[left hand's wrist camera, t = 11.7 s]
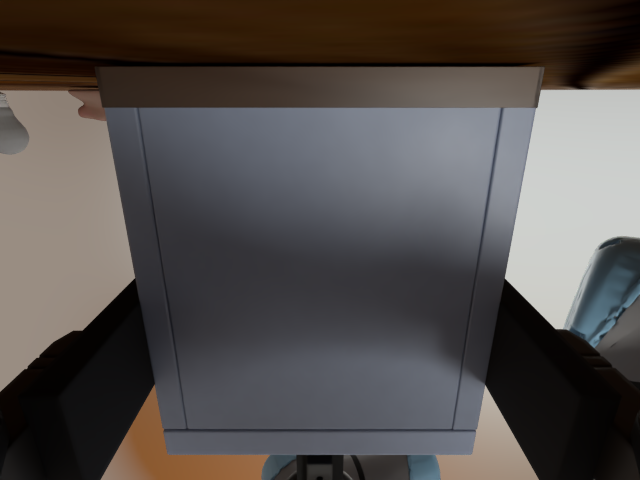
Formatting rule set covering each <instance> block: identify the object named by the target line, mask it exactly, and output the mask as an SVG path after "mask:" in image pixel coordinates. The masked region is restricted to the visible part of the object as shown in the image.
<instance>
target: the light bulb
mask: <svg viewBox="0 0 640 480" xmlns="http://www.w3.org/2000/svg"><path fill="white" fill-rule="evenodd" d="M5 95H6V94H3V93H1V92H0V153H3V154H16V153H19V152H21V151H23V150H24V149H25V148H26V146H27V145H28V142H29V135H28V132H27V130H26V129H25V127H24V126H23V125H22V124H21V123H20V122H19V121H18V120H17V118H16V117H15V116H14V114H13V111H12V110H11V108H10V107H9V105H8V103H7V101H6V98H5V97H6V96H5Z"/></svg>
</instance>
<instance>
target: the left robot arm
mask: <svg viewBox="0 0 640 480" xmlns="http://www.w3.org/2000/svg"><path fill="white" fill-rule="evenodd" d="M154 384H155V382H154V377H153V371H152V366H151V360H150V355H149V349H148V344H147V338H146V333H145V327H144V322H143V316H142V311H141V305H140V301H139V295H138V290H137V284H136V279H134V280H133V281H132V282H131V283H130V284H129V285H128V286H127V287H126V288H125V289H124V290H123V291H122V292H121V293H120V294H119V295H118V296H117V297H116V298H115V299H114V300H113V301H112V302H111V303H110V304H109V305H108V306H107V307H106V308H105V309H104V310H103V311H102V312H101V313H100V314H99V315H98V316H97V317H96V318H95V319H94V320H93V321H92V322H91V323H90V324H89V325H88V326H87V327H86V328H85V329H84V330H83V331H72V332H70V333H69V334H67V335H65V336H63V337H62V338H60V339H58V340H56V341H55V342H53V343H52V344H51V345H50V346H49V347H48V348H47V349H46V350H45V351H44V352H43V353H42V354H40V357H39V358H36V359H35V360H34V361H33V362H32V363H31V364H30V365H29V366H28V368H27V369H24V370H23V371H22V372H21V373H20V374H19V375H18V376H17V377H16V378H15V379H14V380H13V381H12V382H10V383H9V384H8V385H7V386H6V387H5V388H4V389H3V390H2V391H1V392H0V480H101V478H102V476H103V474H104V472H105V471H106V469H107V467H108V465H109V464H110V462H111V460H112V458H113V457H114V455H115V453H116V451H117V450H118V448H119V446H120V444H121V443H122V441H123V439H124V437H125V435H126V434H127V432H128V430H129V428H130V427H131V425H132V423H133V421H134V420H135V418H136V416H137V414H138V413H139V411H140V409H141V407H142V406H143V404H144V402H145V400H146V398H147V397H148V395H149V393H150V391H151V390H152V388H153V386H154ZM485 385H486V387H487V389H488V390H489V392H490V394H491V396H492V397H493V399H494V401H495V403H496V404H497V406H498V408H499V410H500V411H501V413H502V415H503V417H504V419H505V420H506V422H507V424H508V426H509V427H510V429H511V431H512V433H513V434H514V436H515V438H516V440H517V442H518V443H519V445H520V447H521V449H522V450H523V452H524V454H525V456H526V457H527V459H528V461H529V463H530V464H531V466H532V468H533V470H534V471H535V473H536V475H537V477H538V479H539V480H640V238H636V237H626V236H620V237H614V238H611V239H608V240H606V241H604V242H603V243H601V244H600V245H599V246H598V247H597V248H596V250H595V251H594V253H593V255H592V257H591V259H590V261H589V263H588V266H587V268H586V270H585V272H584V275H583V277H582V280H581V282H580V285H579V287H578V290H577V292H576V295H575V298H574V300H573V303H572V305H571V308H570V311H569V314H568V316H567V319H566V322H565V325H564V328H563V329H555V328H554V327H553V326H552V325H551V324H550V323H549V322H548V321H547V320H546V319H545V318H544V317H543V316H542V315H541V314H540V313H539V312H538V311H537V310H536V309H535V308H534V307H533V306H532V305H531V304H530V303H529V302H528V301H527V300H526V299H525V298H524V297H523V296H522V295H521V294H520V293H519V292H518V291H517V290H516V289H515V288H514V287H513V286H512V285H511V284H510V283H509V282H508V281H507V280H506V279H504V284H503V290H502V295H501V301H500V304H499V310H498V315H497V321H496V326H495V332H494V337H493V343H492V348H491V354H490V359H489V365H488V370H487V376H486V381H485Z"/></svg>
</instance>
